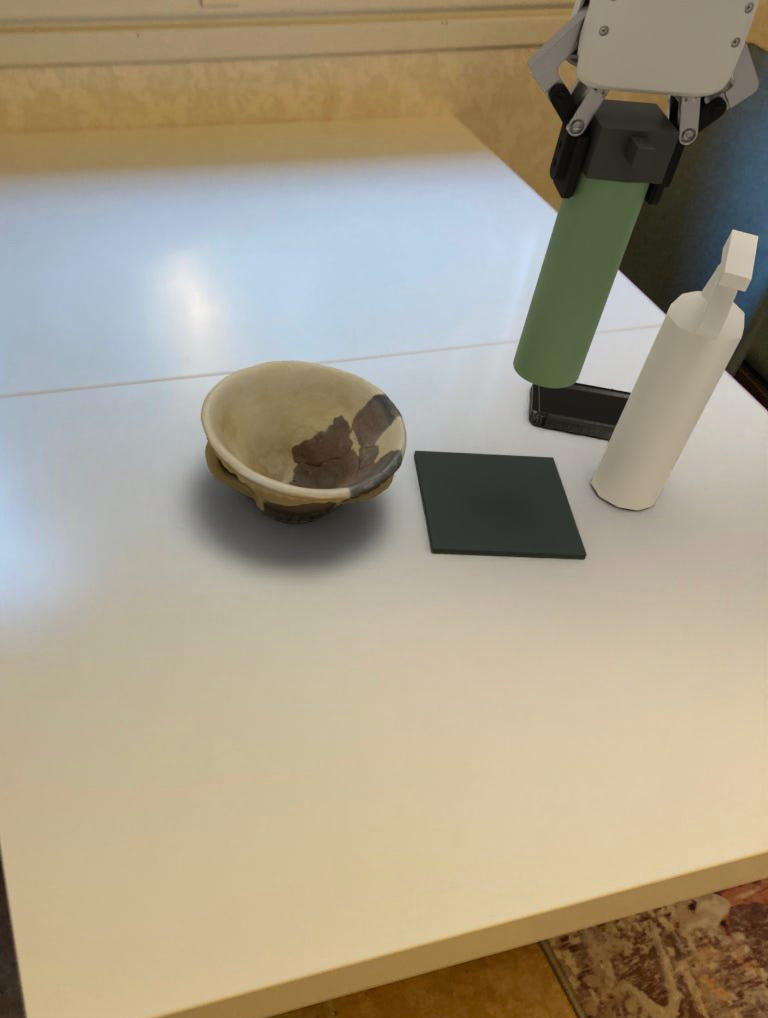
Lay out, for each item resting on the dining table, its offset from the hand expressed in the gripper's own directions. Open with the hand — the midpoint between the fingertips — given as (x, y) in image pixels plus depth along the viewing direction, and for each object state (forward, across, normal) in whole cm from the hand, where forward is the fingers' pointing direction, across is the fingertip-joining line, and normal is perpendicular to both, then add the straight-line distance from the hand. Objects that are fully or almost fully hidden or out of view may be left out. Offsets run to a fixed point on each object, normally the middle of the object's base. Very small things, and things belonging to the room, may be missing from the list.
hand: (604, 190), depth 65 cm
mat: (+30, 0, -1) cm, 30 cm away
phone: (+30, -14, -16) cm, 36 cm away
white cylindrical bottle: (+30, -14, -5) cm, 33 cm away
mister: (+14, 0, 0) cm, 14 cm away
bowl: (+30, +19, 0) cm, 35 cm away
